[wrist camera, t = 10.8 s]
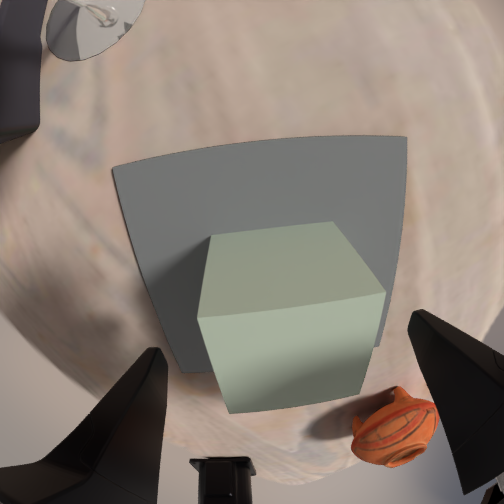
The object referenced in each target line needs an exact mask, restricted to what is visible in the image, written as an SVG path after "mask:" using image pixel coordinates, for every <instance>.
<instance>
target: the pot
mask: <svg viewBox="0 0 504 504" xmlns="http://www.w3.org/2000/svg"><path fill="white" fill-rule="evenodd" d="M394 394H395V400H394V402H393V403H391V404H388V405H386V406H384V407H382V408H381V409H379V410H378V411H376V412H375V413H374V414H372V415H371V416H370V417H369V418H368V419H367V420H366V421H365V422H364V423H363V422H361V420H360V419H359V417H358V416H355V417H354V418H353V424H352V431H353V436H354V439H353V441H352V444H351V450H352V452H353V453H354V454H355V455H356V456H357V457H358V458H360V459H361V460H363V461H365V462H369V463H372V464H376V465H384V466H386V467H389V468H393V467H397V466H400V465H402V464H405V463H407V462H409V461H411V460H413V459H414V458H415V457H416V456H418V455H420V454H422V453H423V452H424V451H425V450H426V448H427V446H426V445H427V443H428V442H429V441H430V439H431V438H432V436H433V434H434V432H435V430H436V428H437V425H438V422H439V419H440V416H439V414H438V411H437V408H436V406H435V403H433V402H430V401H427V400H423V399H417V398H412V397H411V396H410V395H409V394H408V393H407V392H406V391H405V390H404V389H403V388H402V387H399V386H398V387H396V388H395V389H394Z"/></svg>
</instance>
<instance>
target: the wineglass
mask: <svg viewBox="0 0 504 504" xmlns="http://www.w3.org/2000/svg"><path fill="white" fill-rule="evenodd" d="M144 2H145V0H58V1H57V3H56V4H55V6H54V8H53V9H52V11H51V14H50V17H49V20H48V23H47V28H46V40H47V43H48V46H49V49H50V50H51V51H52V52H53V53H54V54H55V55H56V56H57V57H58V58H61V59H64V60H68V61H74V60H84V59H87V58H89V57H92V56H94V55H97V54H99V53H101V52H103V51H104V50H105V49H107V48H108V47H110V46H111V45H113V44H114V43H116V42H117V41H118V40H119V39H120V38H121V37H122V36H123V35H124V34H125V33H126V32H127V31H128V30H129V29H130V28H131V27H132V25H133V23H134V22H135V20H136V19H137V17H138V16H139V15H140V13H141V11H142V8H143V5H144Z"/></svg>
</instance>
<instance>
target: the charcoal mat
mask: <svg viewBox="0 0 504 504" xmlns="http://www.w3.org/2000/svg"><path fill="white" fill-rule="evenodd" d="M112 169H113V173H114V178H115V182H116V186H117V190H118V194H119V198H120V202H121V206H122V210H123V213H124V217H125V221H126V224H127V228H128V231H129V235H130V238H131V241H132V245H133V248H134V251H135V254H136V257H137V260H138V263H139V266H140V269H141V272H142V275H143V278H144V281H145V284H146V287H147V289H148V292H149V295H150V298H151V300H152V303H153V306H154V308H155V311H156V313H157V316H158V318H159V321H160V323H161V326H162V328H163V331H164V333H165V335H166V338H167V340H168V343H169V345H170V347H171V349H172V352H173V354H174V356H175V359H176V361H177V363H178V365H179V367H180V369H181V372H182V373H200V372H214V370H213V367H212V364H211V361H210V358H209V355H208V352H207V349H206V345H205V342H204V339H203V336H202V333H201V329H200V326H199V323H198V320H197V315H198V308H199V302H200V296H201V290H202V284H203V278H204V272H205V267H206V261H207V255H208V250H209V244H210V239H211V235H217V234H225V233H233V232H242V231H250V230H258V229H267V228H276V227H285V226H294V225H303V224H312V223H321V222H331V221H333V222H334V224H335V225H336V226H337V227H338V228H339V230H340V231H341V232H342V233H343V235H344V236H345V237H346V239H347V240H348V241H349V242H350V244H351V245H352V246H353V248H354V249H355V250H356V251H357V253H358V254H359V255H360V257H361V258H362V259H363V261H364V262H365V263H366V265H367V266H368V267H369V269H370V270H371V271H372V273H373V274H374V275H375V277H376V278H377V280H378V281H379V282H380V284H381V285H382V287H383V288H384V289H385V291H386V296H385V301H384V306H383V310H382V315H381V319H380V324H379V328H378V332H377V336H376V340H375V344H374V347H378V346H379V345H380V341H381V337H382V333H383V330H384V326H385V321H386V317H387V313H388V309H389V304H390V300H391V295H392V290H393V285H394V279H395V274H396V268H397V262H398V256H399V249H400V242H401V234H402V226H403V216H404V206H405V193H406V175H407V137H402V136H370V135H348V136H314V137H297V138H283V139H271V140H261V141H251V142H243V143H235V144H227V145H220V146H213V147H207V148H201V149H195V150H189V151H183V152H178V153H173V154H168V155H163V156H158V157H153V158H149V159H144V160H140V161H135V162H131V163H127V164H123V165H119V166H115V167H113V168H112ZM374 347H373V348H374Z"/></svg>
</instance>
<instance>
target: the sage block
mask: <svg viewBox="0 0 504 504" xmlns="http://www.w3.org/2000/svg"><path fill="white" fill-rule="evenodd" d="M385 296H386V291H385V289H384V288H383V287H382V285H381V284H380V282H379V281H378V280H377V278H376V277H375V275H374V274H373V273H372V271H371V270H370V269H369V267H368V266H367V265H366V263H365V262H364V261H363V259H362V258H361V257H360V255H359V254H358V253H357V251H356V250H355V249H354V248H353V246H352V245H351V244H350V242H349V241H348V240H347V239H346V237H345V236H344V235H343V233H342V232H341V231H340V230H339V228H338V227H337V226H336V225H335V224H334V222H333V221H331V222H321V223H312V224H303V225H294V226H285V227H276V228H267V229H258V230H250V231H242V232H233V233H225V234H217V235H211V239H210V244H209V250H208V255H207V261H206V267H205V272H204V278H203V284H202V290H201V296H200V302H199V308H198V315H197V320H198V323H199V326H200V329H201V333H202V336H203V339H204V342H205V345H206V349H207V352H208V355H209V358H210V361H211V364H212V367H213V370H214V373H215V376H216V379H217V381H218V384H219V387H220V390H221V393H222V396H223V398H224V401H225V404H226V406H227V409H228V412H229V414H235V413H248V412H259V411H268V410H277V409H284V408H291V407H298V406H304V405H310V404H316V403H321V402H326V401H331V400H336V399H341V398H345V397H349V396H354V395H358V394H360V391H361V388H362V384H363V381H364V378H365V375H366V372H367V368H368V365H369V362H370V358H371V355H372V351H373V347H374V344H375V340H376V336H377V332H378V328H379V324H380V319H381V315H382V310H383V306H384V301H385Z"/></svg>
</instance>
